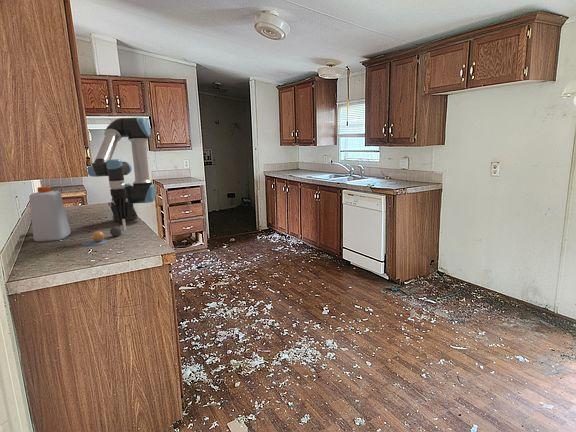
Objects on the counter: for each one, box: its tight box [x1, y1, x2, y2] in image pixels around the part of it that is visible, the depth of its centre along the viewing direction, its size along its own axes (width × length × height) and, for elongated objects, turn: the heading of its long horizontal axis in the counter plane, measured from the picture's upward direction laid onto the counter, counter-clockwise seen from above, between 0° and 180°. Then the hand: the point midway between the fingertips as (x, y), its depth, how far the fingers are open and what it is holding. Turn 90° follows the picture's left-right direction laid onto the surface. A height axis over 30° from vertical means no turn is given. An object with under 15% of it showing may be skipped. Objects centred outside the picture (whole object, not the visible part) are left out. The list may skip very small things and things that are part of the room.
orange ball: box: [92, 230, 105, 242], centre depth 185 cm, size 6×6×6 cm
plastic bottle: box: [28, 185, 72, 243], centre depth 194 cm, size 15×15×28 cm
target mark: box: [81, 238, 109, 247], centre depth 184 cm, size 12×12×1 cm
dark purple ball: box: [109, 225, 122, 237], centre depth 195 cm, size 6×6×6 cm
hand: (123, 230), depth 200 cm, fingers closed
